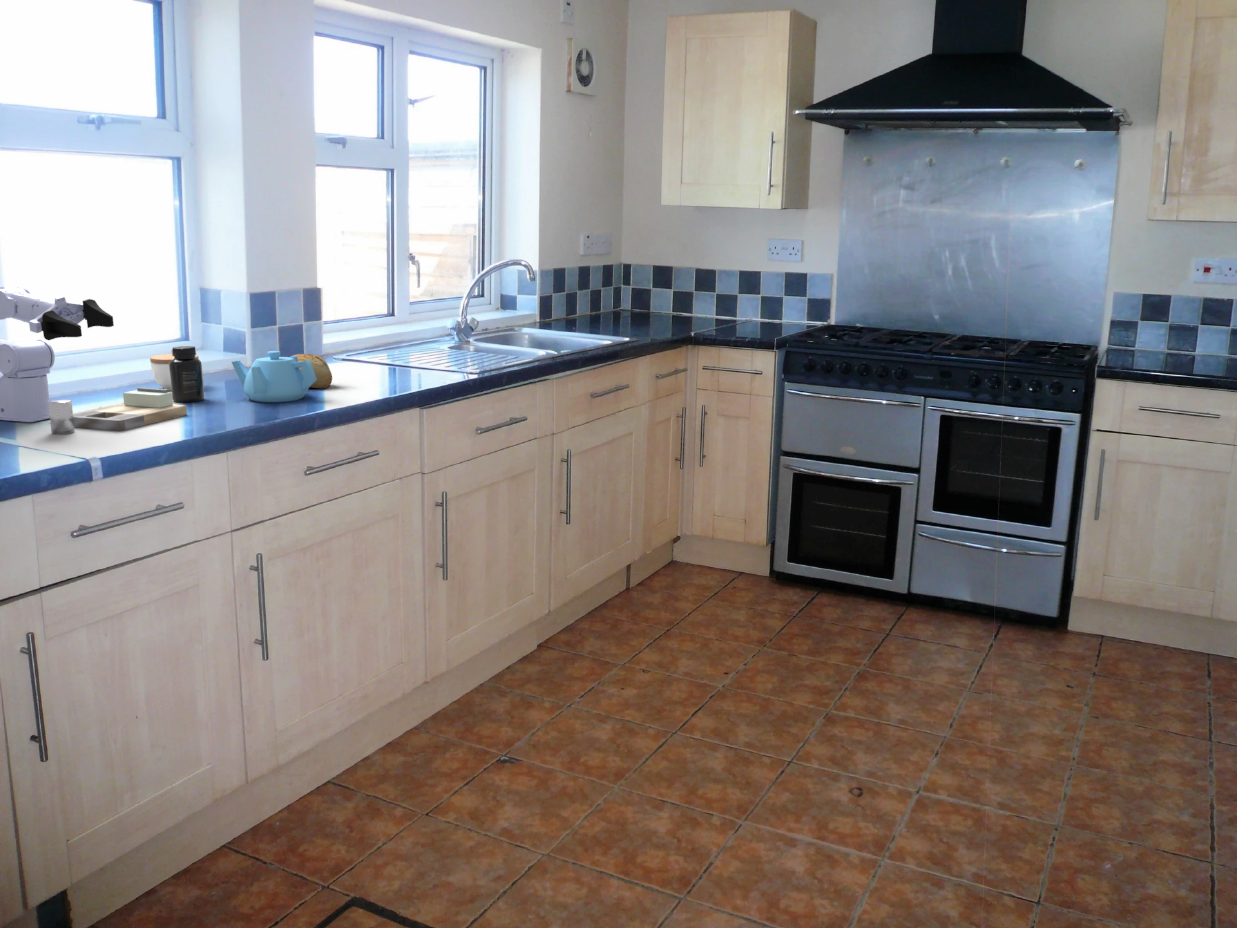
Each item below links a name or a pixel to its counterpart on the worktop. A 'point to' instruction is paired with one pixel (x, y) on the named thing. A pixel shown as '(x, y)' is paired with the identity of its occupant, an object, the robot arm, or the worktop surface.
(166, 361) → the lidded jar
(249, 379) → the teapot
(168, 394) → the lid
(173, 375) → the supplement bottle
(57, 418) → the peg
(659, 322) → the worktop surface
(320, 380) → the bread roll
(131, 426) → the housing
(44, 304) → the robot arm
